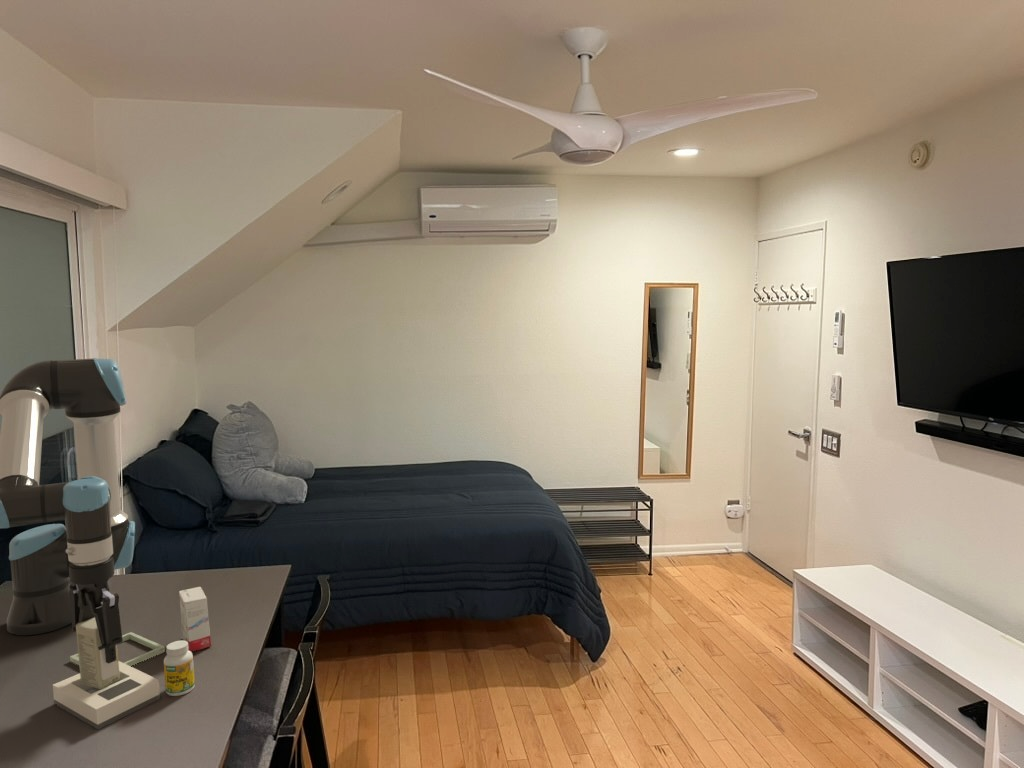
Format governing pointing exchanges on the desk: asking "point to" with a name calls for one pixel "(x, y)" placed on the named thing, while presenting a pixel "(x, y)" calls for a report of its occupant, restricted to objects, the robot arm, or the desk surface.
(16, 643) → the desk surface
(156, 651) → the tray rim
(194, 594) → the ink box
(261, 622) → the desk surface
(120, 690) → the block
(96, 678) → the skincare box
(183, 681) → the supplement bottle
